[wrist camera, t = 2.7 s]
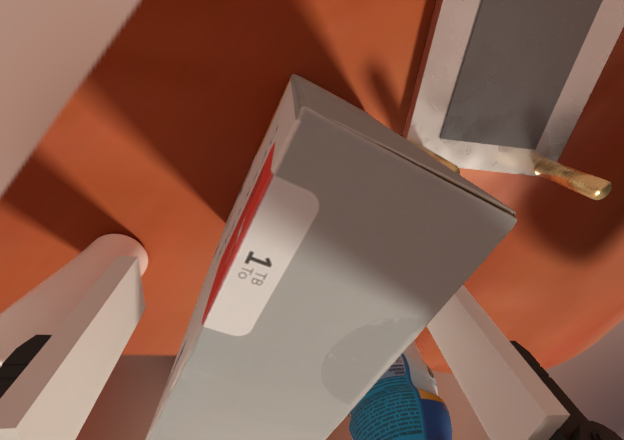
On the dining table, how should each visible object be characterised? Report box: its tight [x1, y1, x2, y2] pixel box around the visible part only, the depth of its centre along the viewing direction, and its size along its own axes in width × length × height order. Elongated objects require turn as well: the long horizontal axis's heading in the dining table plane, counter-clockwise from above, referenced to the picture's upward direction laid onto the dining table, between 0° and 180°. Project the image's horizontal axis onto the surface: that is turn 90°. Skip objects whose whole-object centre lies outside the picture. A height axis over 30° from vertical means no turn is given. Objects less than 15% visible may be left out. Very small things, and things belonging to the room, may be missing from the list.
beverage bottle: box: [348, 341, 452, 440], centre depth 28 cm, size 8×8×20 cm
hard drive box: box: [145, 74, 517, 440], centre depth 20 cm, size 16×8×20 cm, turn 153°
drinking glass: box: [0, 234, 148, 367], centre depth 24 cm, size 7×7×15 cm
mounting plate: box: [402, 0, 624, 200], centre depth 22 cm, size 15×22×7 cm
